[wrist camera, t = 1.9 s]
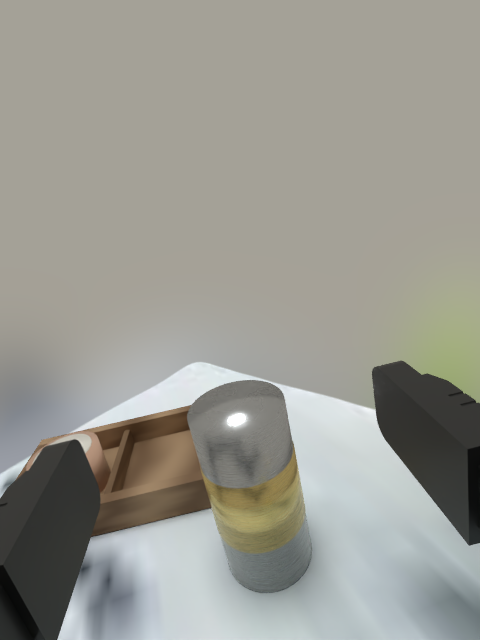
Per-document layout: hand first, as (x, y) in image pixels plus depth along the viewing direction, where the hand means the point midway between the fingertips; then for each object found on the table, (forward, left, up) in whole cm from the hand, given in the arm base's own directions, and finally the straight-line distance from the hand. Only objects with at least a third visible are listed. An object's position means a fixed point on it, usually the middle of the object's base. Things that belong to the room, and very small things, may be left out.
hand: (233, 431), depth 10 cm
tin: (0, +11, -18) cm, 21 cm away
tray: (-12, +22, -18) cm, 31 cm away
